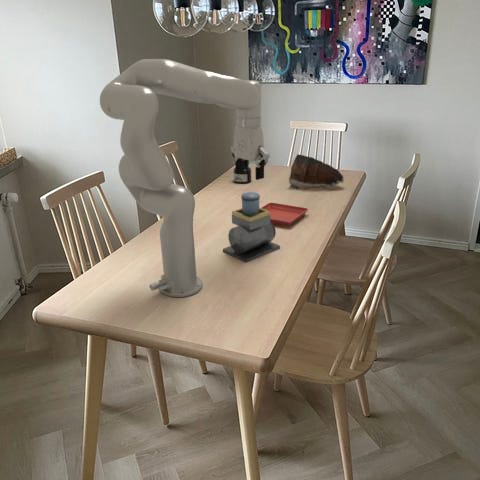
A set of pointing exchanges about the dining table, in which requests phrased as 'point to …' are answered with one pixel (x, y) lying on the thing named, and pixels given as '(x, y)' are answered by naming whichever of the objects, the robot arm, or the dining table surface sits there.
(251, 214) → the blue rounded cylinder
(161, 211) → the robot arm
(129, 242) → the dining table surface
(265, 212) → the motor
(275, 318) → the dining table surface
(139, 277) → the dining table surface
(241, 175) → the ink bottle
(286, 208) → the plant saucer
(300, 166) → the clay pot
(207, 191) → the dining table surface
